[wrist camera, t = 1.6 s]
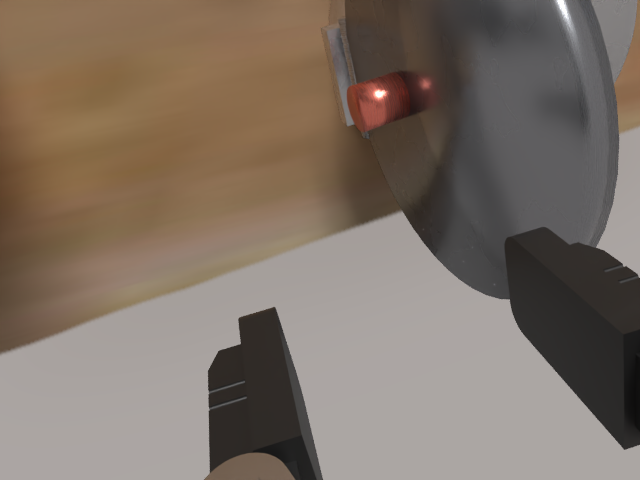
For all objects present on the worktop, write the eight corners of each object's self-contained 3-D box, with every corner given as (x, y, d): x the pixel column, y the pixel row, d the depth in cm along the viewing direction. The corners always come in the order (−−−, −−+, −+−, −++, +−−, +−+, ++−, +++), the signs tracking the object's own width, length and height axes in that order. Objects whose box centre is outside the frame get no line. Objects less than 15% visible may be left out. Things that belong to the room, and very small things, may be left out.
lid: (319, -192, 26) (248, -177, 25) (616, -428, 12) (468, -407, 11) (397, 209, 35) (345, 229, 34) (623, 364, 20) (541, 404, 19)
